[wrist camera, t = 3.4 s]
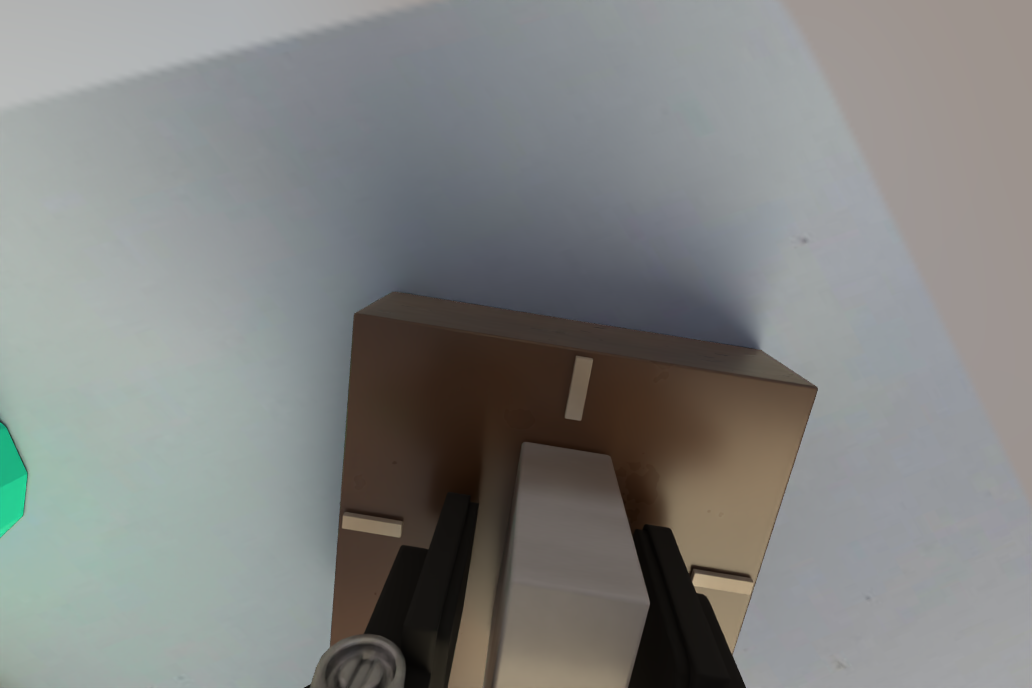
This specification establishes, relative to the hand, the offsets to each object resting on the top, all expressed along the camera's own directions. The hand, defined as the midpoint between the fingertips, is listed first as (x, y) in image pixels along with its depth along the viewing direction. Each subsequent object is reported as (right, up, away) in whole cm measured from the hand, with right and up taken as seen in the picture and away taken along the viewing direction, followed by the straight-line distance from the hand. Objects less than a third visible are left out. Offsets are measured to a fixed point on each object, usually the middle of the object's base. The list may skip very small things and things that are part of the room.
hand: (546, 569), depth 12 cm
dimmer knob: (0, 0, +1) cm, 1 cm away
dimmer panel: (0, +1, +4) cm, 4 cm away
